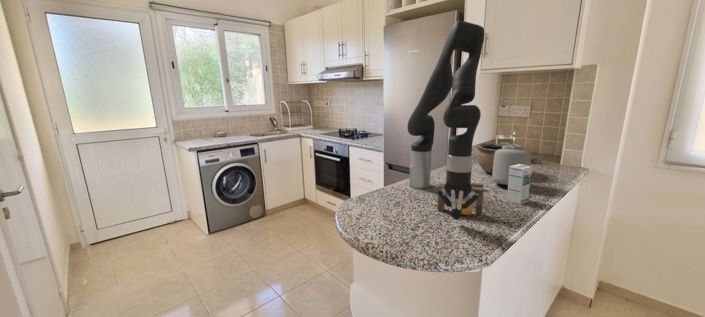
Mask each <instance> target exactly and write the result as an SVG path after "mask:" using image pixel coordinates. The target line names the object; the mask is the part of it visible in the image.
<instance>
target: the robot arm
mask: <svg viewBox="0 0 705 317" xmlns="http://www.w3.org/2000/svg"><path fill="white" fill-rule="evenodd" d="M484 40H485V28H484V27H483V26H481V25H479V24H475V23H473V22H468V21H464V20H459V19H458V20H457V21H455V22H454V23H453V24H452V26H451V28H450V30H449V33H448V35H447V38H446V40H445V43H444V45H443V48H442V50H441V53H440V56H439V58H438V61H437V63H436V65H435V67H434V70H433V72H432V73H431V76H430V77H429V79H428V82H427V84H426V85H425V88H424V92H423V93H422V95H421V97H420V100H419V101H418V103H417V106H416V107H415V109H414V111H413V112H412V114H411V115H410V117H409V119H408V122H407V132H408V134H409V135H410V136H413V137H420V138H418V139H417V140H416V141H415V142H413V143H412V144H411V146H410V148H411V149H410V150H411V151H410V166H409V187H412V188H415V189H423V190H424V189H428V188H431V184H432V182H431V181H432V157H433V156H432V151H433V145H434V138H435V126H436V124H435V119H434V117H433V116H432V115H430V114H429V113H431V112H432V111H433V110H434V109H436V108H437V107H439V105H441V104H442V103H443V102H444V101H445V100H446V99H447V97H448V96H449V93H450V92H451V94H450V99H449V101H448V104H447V106H446V107H445V110H444V113H443V122H444V125H445V127H447V128H449V129H466V131H465V132H464V133H461V134H456V135H452V136H449V138H448V146H447V158H446V159H447V160H446V165H445V166H446V173H445V174H446V175H445V177H446V178H445V183H444V184H445V186H444V188H442V189H439V188H438V190H437V195H439V196H440V197H441V199H442V200H443V201H444V203H445V205H446V207H450V208H451V218H452V219H453V221H454V220H456V221H459V219H461V218H462V214H461V210H462V209H466V208H468V207H469V206H470V205H471V204H472V203H473V202H474V201H475V200H476V199H477V198H478V193H475V192H473V191H472V187H471V183H472V168H473V167H472V166H473V159H472V158H473V157H472V156H473V155H472V153H473V142H474V137H475V134H476V130H477V127H478V126H479V123H480V120H481V116H482V115H481V110H480V108H479V106H477V105H474V104H469V103H472V102H473V101H474V99H475V98H476V83H477V82H476V81H477V80H476V79H477V71H478V67H479V62H480V58H481V54H482V50H483V45H484ZM454 51H458V52H459V51H460V52H463V53H467V54H468V57H467V59H466V61H465V62H463V64H462V65H461V66H460V67H459V68H458V69H457V70H456V72H455V73H454V74H453V70H452V69H453V68H452V56H453V53H454ZM447 193H448V195H449V196H450V197H451V201H450V200H449V199H448V197H447V196H446V194H447ZM469 194H470V198H469V199H468V200H467V201H466V202H465V203H464V204H462V201H463V199H465V198H466V197H467V196H468V195H469ZM456 199H458V206H457V205H456ZM456 206H457V207H456Z"/></svg>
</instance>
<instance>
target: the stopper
mask: <svg viewBox="0 0 705 317" xmlns="http://www.w3.org/2000/svg"><path fill="white" fill-rule="evenodd" d="M471 187H478V188H484V183H479V182H478V183H477V182H471Z"/></svg>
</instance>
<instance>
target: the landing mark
mask: <svg viewBox="0 0 705 317" xmlns="http://www.w3.org/2000/svg"><path fill="white" fill-rule="evenodd" d="M445 195H446V196H447V197H448V199H449V200H450V201H451V197H450V196H449V195H448V193H447V192H446V194H445ZM466 198H467V199H469V198H470V194H469V195H468V196H467V197H466ZM476 200H477V199H476ZM476 200H475V201H474V202H473V208H476ZM457 201H458V199H456V202H457Z"/></svg>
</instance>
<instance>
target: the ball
mask: <svg viewBox="0 0 705 317" xmlns="http://www.w3.org/2000/svg"><path fill="white" fill-rule="evenodd" d="M467 200H468V199H467V198H465V199H463V201H462V204H464V203H465V202H466V201H467ZM456 205H457V206H458V201H457V202H456ZM457 206H456V207H457ZM473 211H474V207H473V203H472V204H471V205H470V206H469V207H468V208H466V209H462V210H461V216H462V215H463V216H467V215H470V214H472V213H473Z"/></svg>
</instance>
